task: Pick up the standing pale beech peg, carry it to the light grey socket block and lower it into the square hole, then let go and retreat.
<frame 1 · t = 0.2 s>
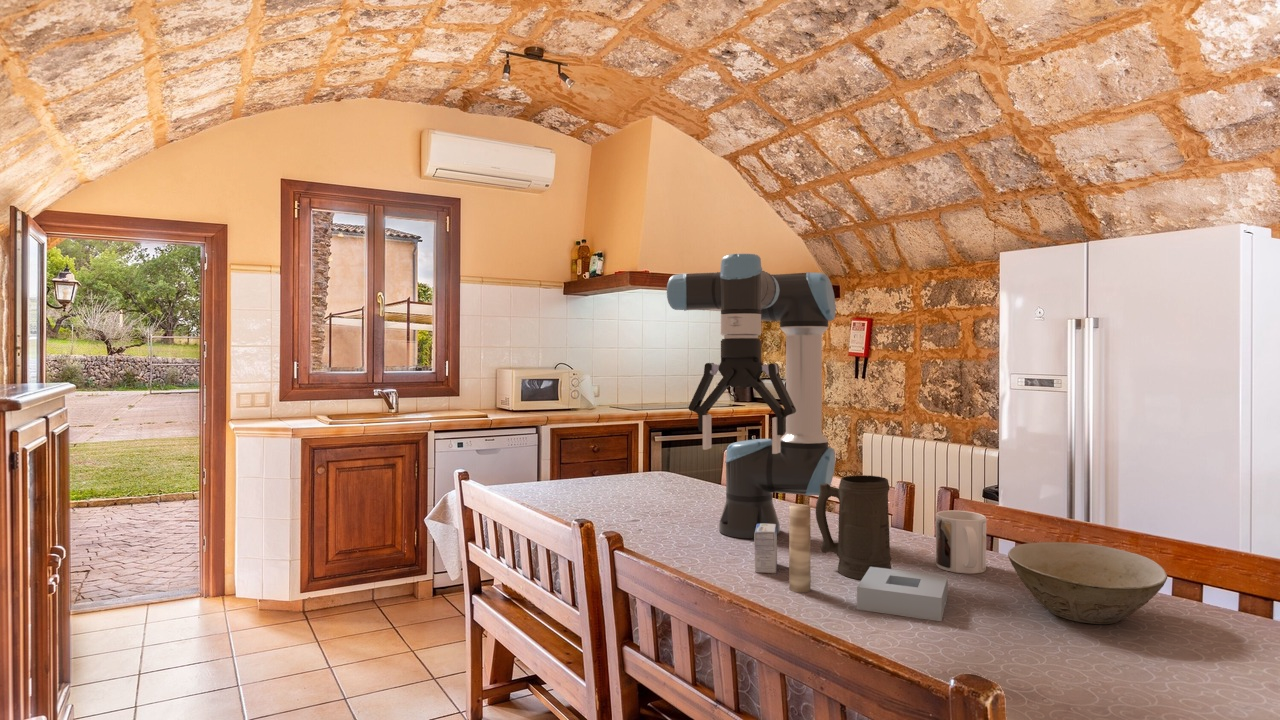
hand: (741, 451, 143), 27 cm above the table, fingers open, 13 cm apart
socket block: (903, 603, 139), on the table
mug: (960, 569, 161), on the table
medicine box: (766, 569, 162), on the table
beech peg: (799, 589, 148), on the table
beer stein: (852, 572, 159), on the table
bowl: (1083, 616, 133), on the table
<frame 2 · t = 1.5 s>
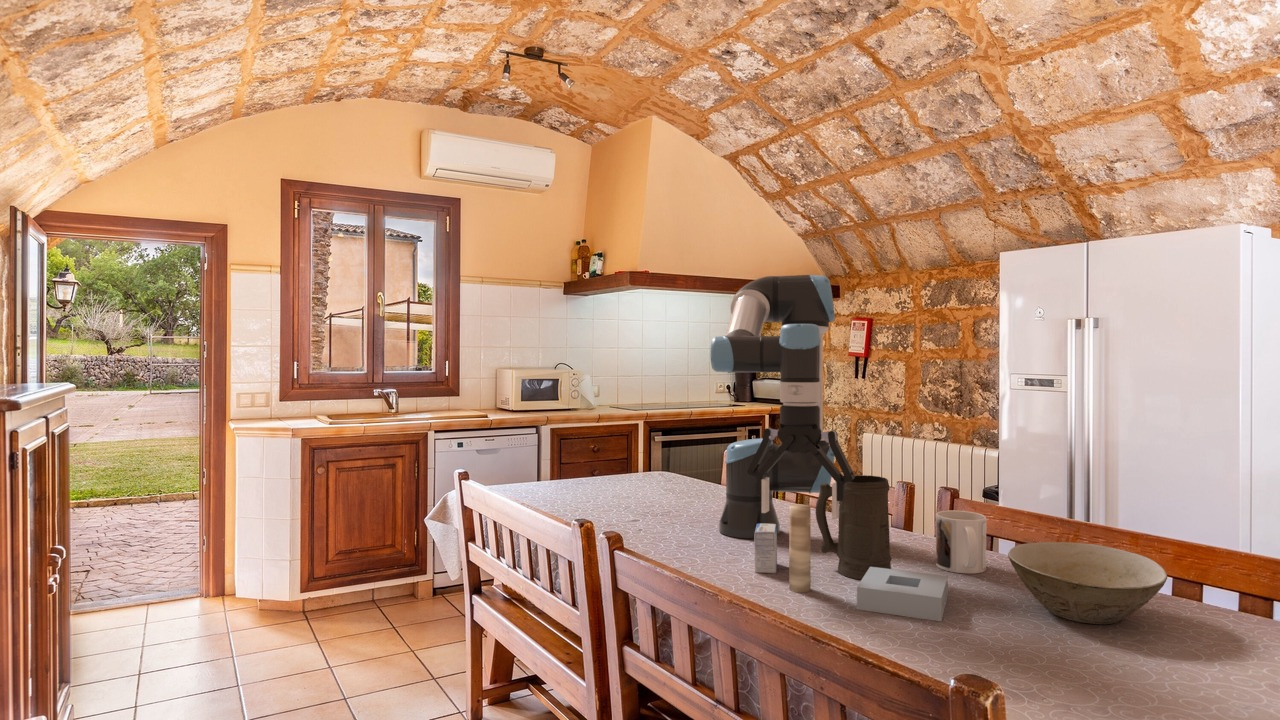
hand: (799, 515, 147), 14 cm above the table, fingers open, 13 cm apart
nothing on the table moved.
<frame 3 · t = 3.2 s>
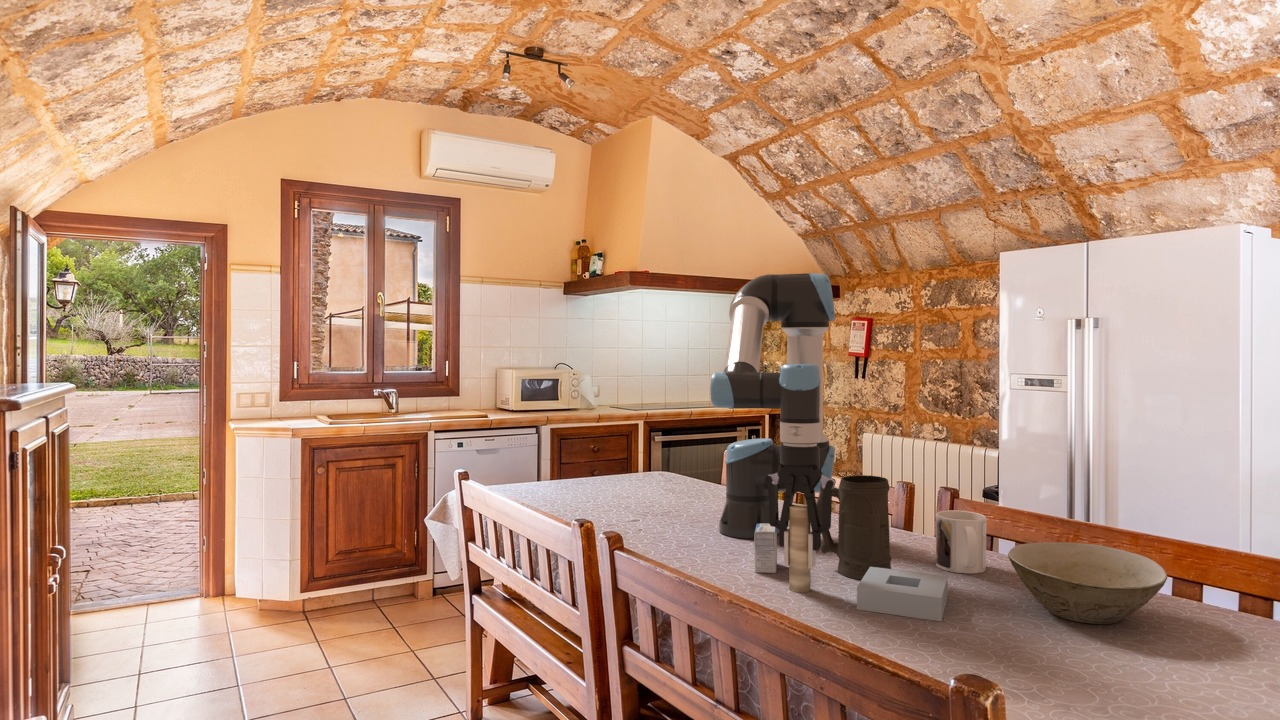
hand: (799, 565, 148), 5 cm above the table, fingers closed on beech peg, 4 cm apart
beech peg: (799, 589, 148), on the table, touching gripper
everything else where it was.
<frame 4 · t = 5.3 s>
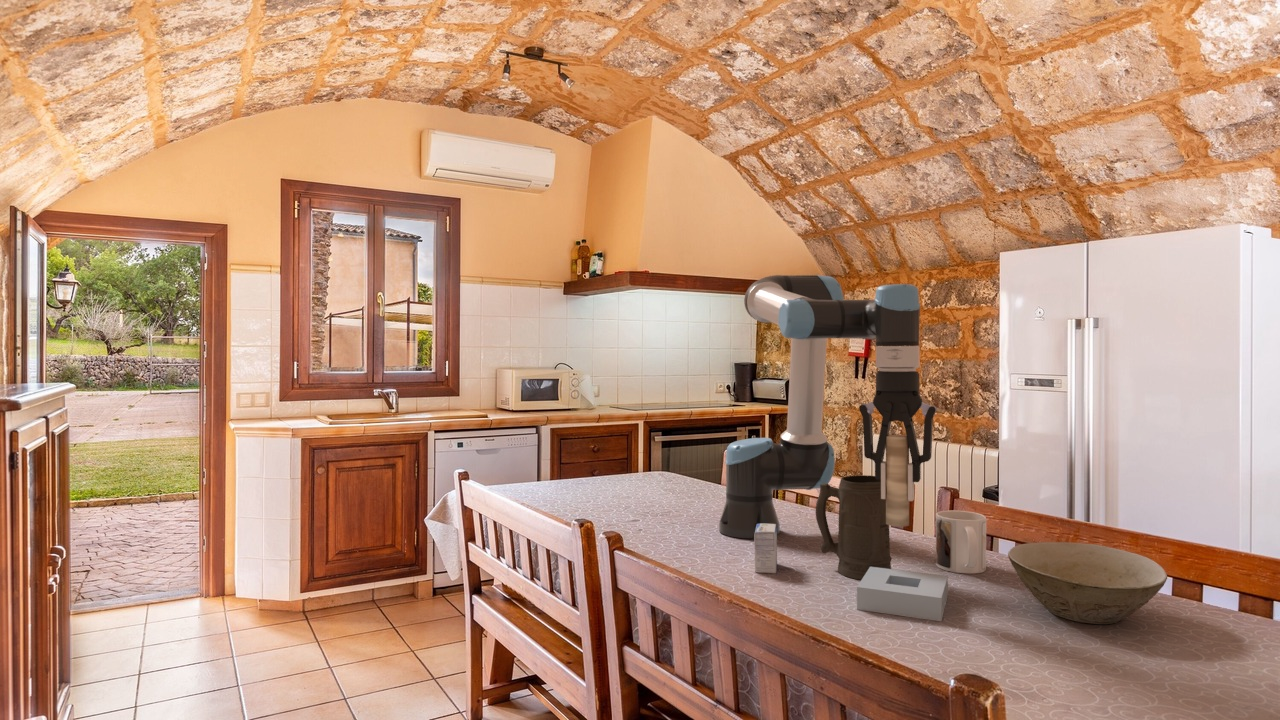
hand: (897, 498, 139), 19 cm above the table, fingers closed on beech peg, 4 cm apart
beech peg: (897, 524, 139), point 14 cm above the table, touching gripper
everything else where it was.
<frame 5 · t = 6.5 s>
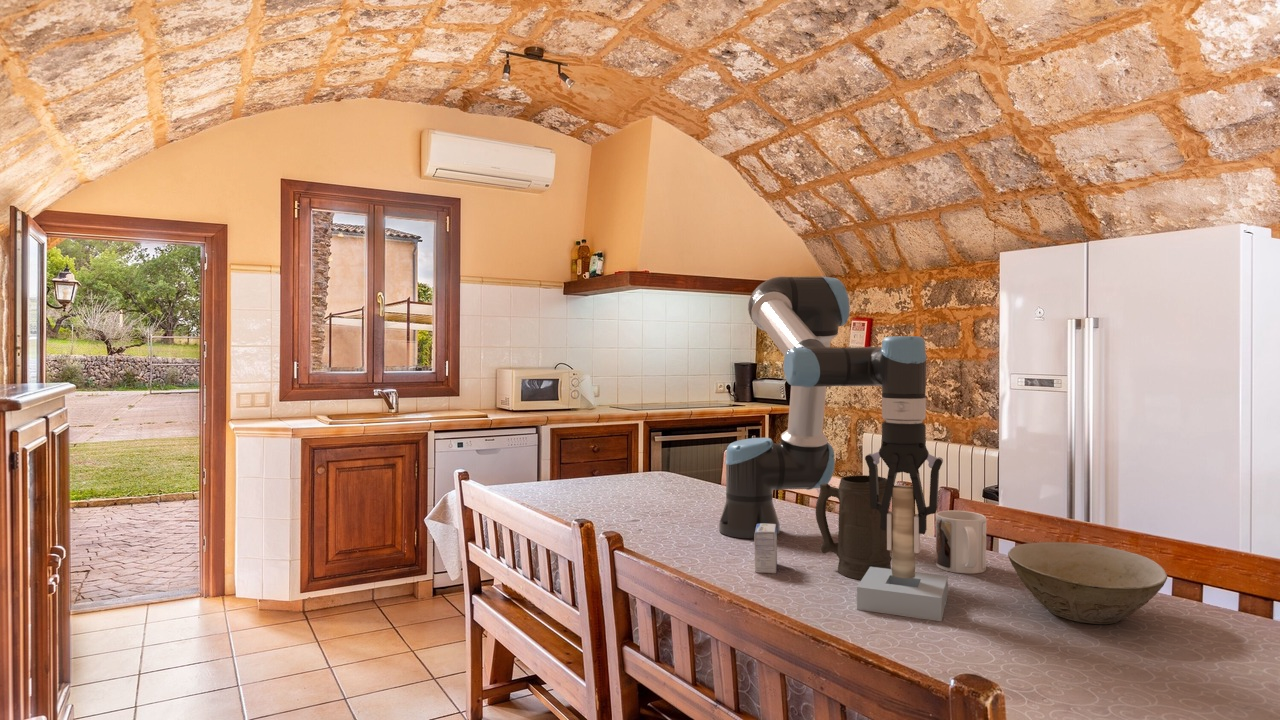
hand: (903, 549, 139), 10 cm above the table, fingers closed on beech peg, 4 cm apart
beech peg: (903, 575, 139), point 5 cm above the table, touching gripper
everything else where it was.
when the fingers open (5 cm above the table, at t = 7.7 s): beech peg stays where it is, resting in socket block.
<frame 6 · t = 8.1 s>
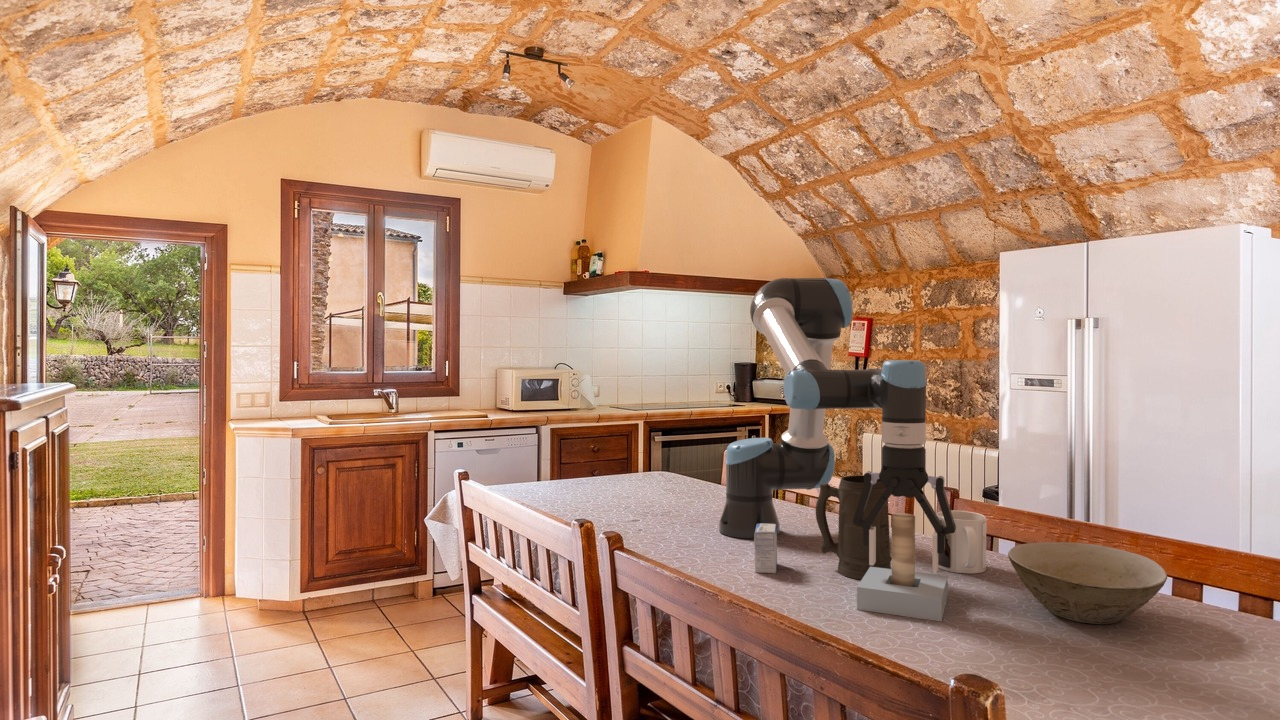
hand: (903, 567, 139), 7 cm above the table, fingers open, 10 cm apart
beech peg: (903, 603, 139), resting in socket block
everything else where it was.
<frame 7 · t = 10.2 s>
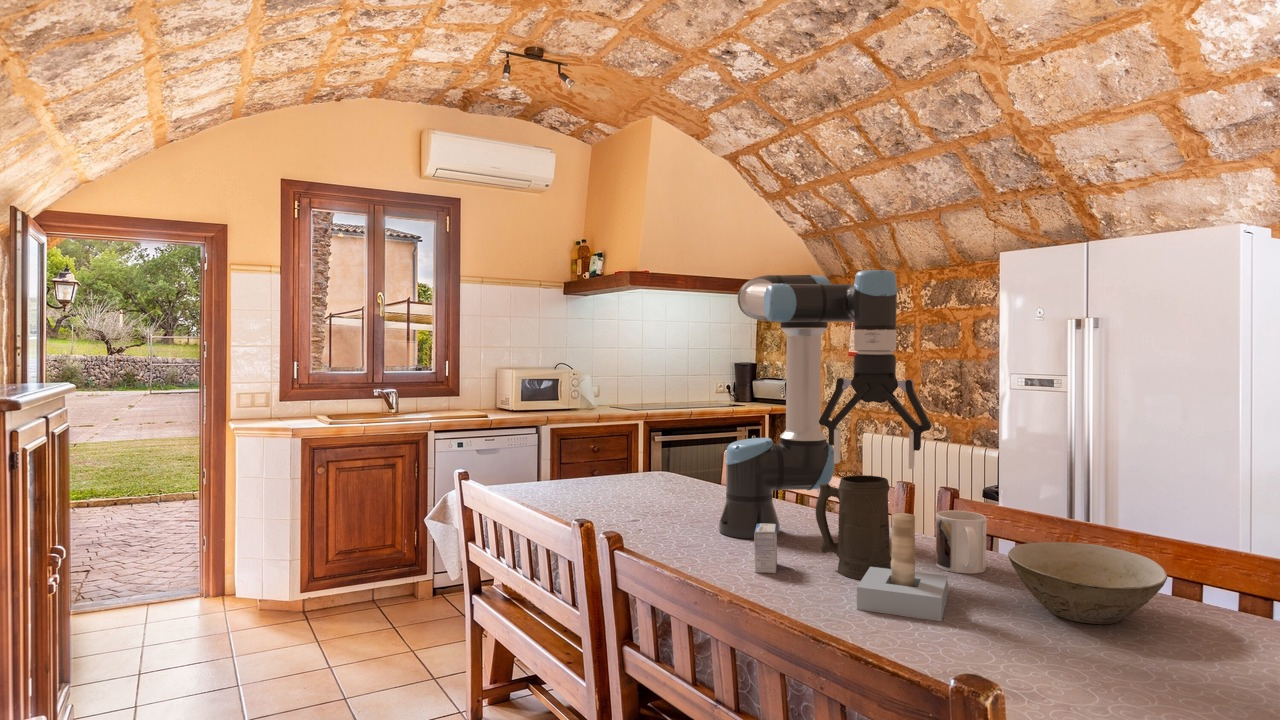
hand: (873, 465, 145), 24 cm above the table, fingers open, 13 cm apart
nothing on the table moved.
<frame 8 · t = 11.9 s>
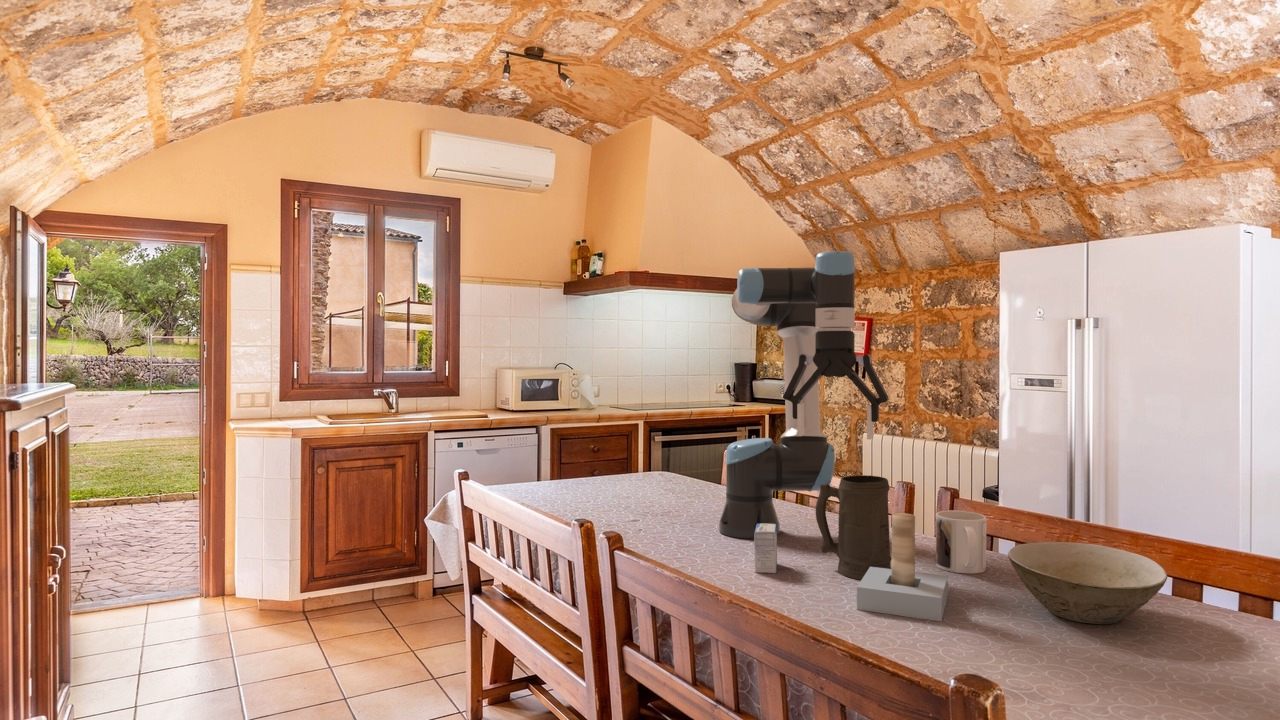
hand: (834, 437, 152), 29 cm above the table, fingers open, 13 cm apart
nothing on the table moved.
at the end: beech peg 0.0 cm off-centre on the socket block, point 0.0 cm above the socket block's base; beech peg tilted 0°; the gripper is holding nothing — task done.
